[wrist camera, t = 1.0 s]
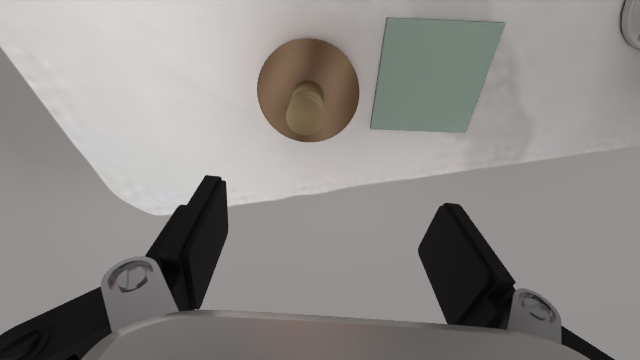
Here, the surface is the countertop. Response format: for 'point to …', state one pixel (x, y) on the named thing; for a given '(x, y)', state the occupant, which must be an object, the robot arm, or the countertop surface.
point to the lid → (308, 90)
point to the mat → (432, 73)
